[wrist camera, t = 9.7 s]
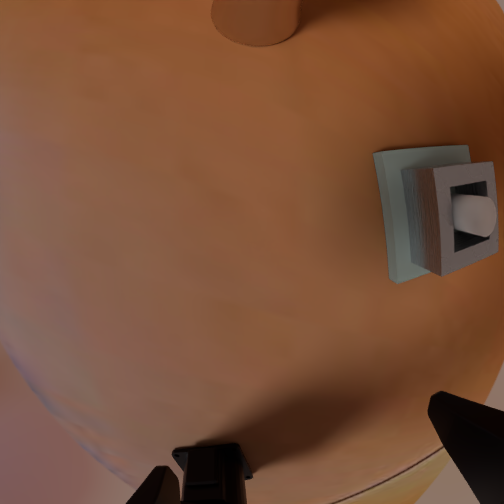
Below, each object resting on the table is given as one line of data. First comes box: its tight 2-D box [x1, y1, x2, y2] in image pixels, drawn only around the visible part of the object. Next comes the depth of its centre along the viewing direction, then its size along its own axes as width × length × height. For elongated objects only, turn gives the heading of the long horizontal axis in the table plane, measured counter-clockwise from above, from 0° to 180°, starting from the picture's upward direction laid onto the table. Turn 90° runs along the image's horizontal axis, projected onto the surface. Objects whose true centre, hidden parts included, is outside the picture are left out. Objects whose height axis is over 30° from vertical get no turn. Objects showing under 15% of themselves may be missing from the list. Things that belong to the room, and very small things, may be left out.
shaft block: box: [373, 145, 497, 284], centre depth 16 cm, size 9×9×6 cm
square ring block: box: [400, 161, 498, 277], centre depth 16 cm, size 6×6×4 cm
